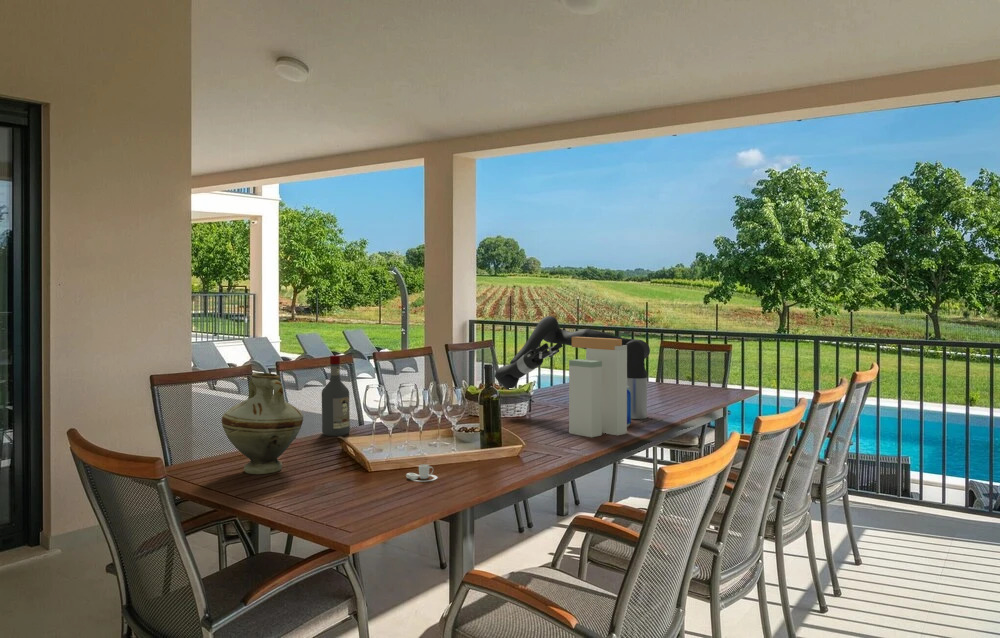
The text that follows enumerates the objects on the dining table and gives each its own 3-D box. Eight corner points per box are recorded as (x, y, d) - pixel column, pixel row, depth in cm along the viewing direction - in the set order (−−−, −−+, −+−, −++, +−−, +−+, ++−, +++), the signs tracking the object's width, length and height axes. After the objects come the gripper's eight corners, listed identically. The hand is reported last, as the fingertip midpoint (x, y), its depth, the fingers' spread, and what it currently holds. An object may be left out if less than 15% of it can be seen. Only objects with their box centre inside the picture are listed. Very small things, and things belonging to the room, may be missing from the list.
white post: (586, 430, 282) (586, 344, 281) (595, 428, 287) (595, 343, 285) (617, 435, 272) (617, 346, 270) (626, 433, 276) (626, 345, 274)
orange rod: (571, 347, 288) (571, 337, 288) (577, 346, 291) (577, 336, 290) (616, 350, 272) (616, 339, 272) (621, 349, 275) (621, 339, 274)
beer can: (630, 423, 295) (630, 384, 294) (631, 427, 287) (631, 387, 286) (609, 423, 296) (609, 384, 295) (610, 427, 287) (610, 387, 287)
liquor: (318, 434, 276) (317, 356, 275) (334, 430, 284) (333, 354, 283) (337, 436, 272) (336, 357, 271) (353, 432, 280) (352, 355, 279)
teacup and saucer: (402, 481, 209) (402, 467, 209) (415, 474, 217) (415, 461, 217) (430, 484, 206) (429, 470, 206) (442, 477, 214) (442, 463, 213)
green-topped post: (569, 433, 276) (569, 360, 275) (579, 431, 280) (579, 359, 279) (591, 437, 268) (591, 362, 267) (601, 435, 272) (601, 361, 271)
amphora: (289, 482, 210) (299, 379, 211) (205, 476, 208) (215, 373, 209) (304, 467, 233) (313, 374, 234) (229, 461, 232) (238, 368, 232)
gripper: (514, 354, 303) (539, 337, 292) (538, 352, 313) (562, 335, 302) (521, 371, 300) (546, 353, 290) (544, 368, 310) (569, 351, 300)
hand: (554, 344), depth 296 cm, fingers open, 8 cm apart
